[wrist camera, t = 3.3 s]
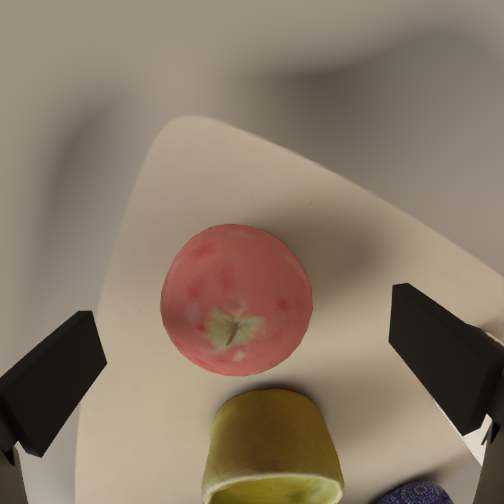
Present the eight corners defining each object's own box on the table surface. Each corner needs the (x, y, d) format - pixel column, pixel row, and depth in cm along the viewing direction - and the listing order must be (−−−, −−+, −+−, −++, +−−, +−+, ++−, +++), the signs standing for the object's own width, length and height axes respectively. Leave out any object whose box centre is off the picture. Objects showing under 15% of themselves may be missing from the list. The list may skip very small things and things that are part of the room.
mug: (217, 358, 18) (252, 512, 10) (337, 374, 22) (390, 480, 14) (165, 439, 23) (178, 540, 15) (263, 445, 27) (289, 529, 19)
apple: (259, 348, 20) (266, 430, 13) (162, 297, 20) (117, 362, 12) (319, 255, 19) (365, 302, 11) (215, 195, 18) (192, 204, 10)
